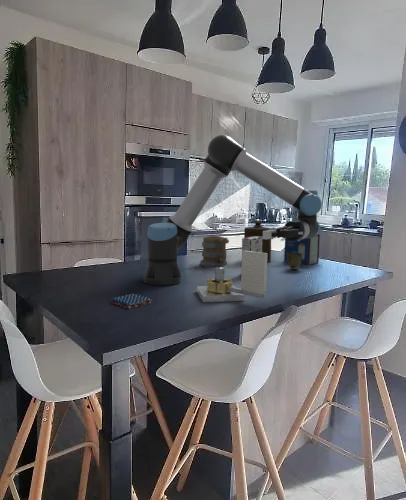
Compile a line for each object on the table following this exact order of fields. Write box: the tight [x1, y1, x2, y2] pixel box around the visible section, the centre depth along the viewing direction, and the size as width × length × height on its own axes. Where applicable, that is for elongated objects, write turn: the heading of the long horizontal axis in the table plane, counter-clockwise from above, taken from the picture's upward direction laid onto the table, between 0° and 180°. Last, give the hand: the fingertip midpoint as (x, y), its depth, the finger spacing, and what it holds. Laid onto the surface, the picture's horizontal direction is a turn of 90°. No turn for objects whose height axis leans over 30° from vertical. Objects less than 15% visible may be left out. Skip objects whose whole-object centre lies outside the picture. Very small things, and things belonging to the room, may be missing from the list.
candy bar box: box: [241, 236, 263, 252], centre depth 170 cm, size 11×5×16 cm, turn 143°
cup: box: [286, 252, 303, 271], centre depth 180 cm, size 8×7×8 cm
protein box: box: [283, 233, 321, 266], centre depth 201 cm, size 10×15×16 cm
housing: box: [195, 266, 246, 303], centre depth 129 cm, size 14×14×10 cm
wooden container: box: [243, 220, 272, 263], centre depth 202 cm, size 15×15×22 cm
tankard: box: [200, 235, 230, 268], centre depth 187 cm, size 20×13×15 cm, turn 25°
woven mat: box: [109, 292, 154, 310], centre depth 120 cm, size 10×11×2 cm
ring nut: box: [206, 250, 268, 299], centre depth 124 cm, size 22×8×15 cm, turn 50°
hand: (264, 235), depth 125 cm, fingers closed
